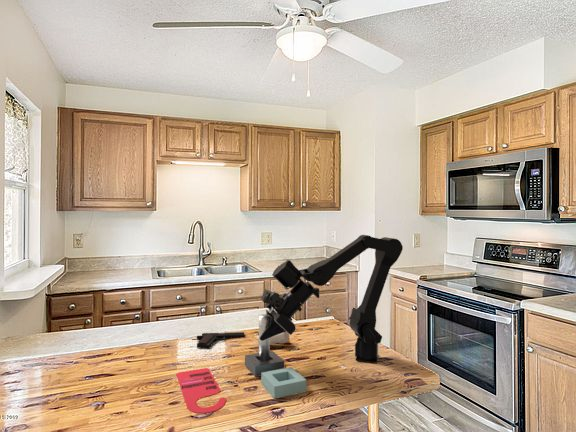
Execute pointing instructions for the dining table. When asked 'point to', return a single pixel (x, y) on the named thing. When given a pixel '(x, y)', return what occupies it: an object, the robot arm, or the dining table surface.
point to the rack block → (283, 382)
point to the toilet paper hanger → (278, 338)
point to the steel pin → (265, 344)
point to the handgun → (216, 338)
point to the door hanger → (199, 389)
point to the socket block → (263, 363)
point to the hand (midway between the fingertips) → (259, 337)
